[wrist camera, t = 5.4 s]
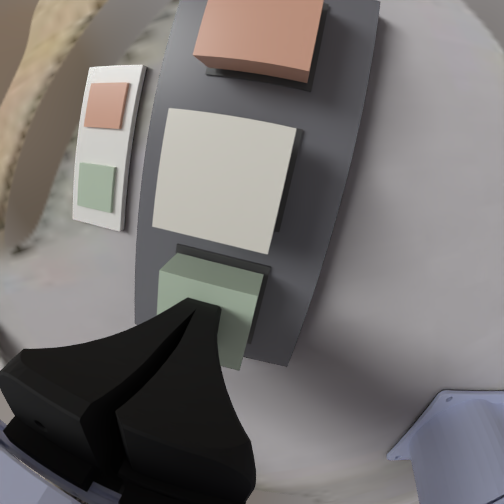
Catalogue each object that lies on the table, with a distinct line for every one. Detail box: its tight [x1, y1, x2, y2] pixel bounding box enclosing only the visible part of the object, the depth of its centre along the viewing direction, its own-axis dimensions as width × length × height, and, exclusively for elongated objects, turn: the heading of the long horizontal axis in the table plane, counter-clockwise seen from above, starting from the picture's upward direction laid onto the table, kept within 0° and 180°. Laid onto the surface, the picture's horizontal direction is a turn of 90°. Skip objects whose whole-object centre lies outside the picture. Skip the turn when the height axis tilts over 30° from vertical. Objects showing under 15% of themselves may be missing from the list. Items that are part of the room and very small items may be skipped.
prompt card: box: [73, 65, 147, 232], centre depth 12 cm, size 3×8×1 cm, turn 169°
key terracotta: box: [193, 0, 324, 83], centre depth 8 cm, size 4×4×2 cm
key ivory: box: [152, 108, 296, 254], centre depth 9 cm, size 4×4×2 cm
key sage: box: [157, 253, 264, 370], centre depth 12 cm, size 4×4×2 cm
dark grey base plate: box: [135, 0, 380, 367], centre depth 12 cm, size 8×17×1 cm, turn 169°
